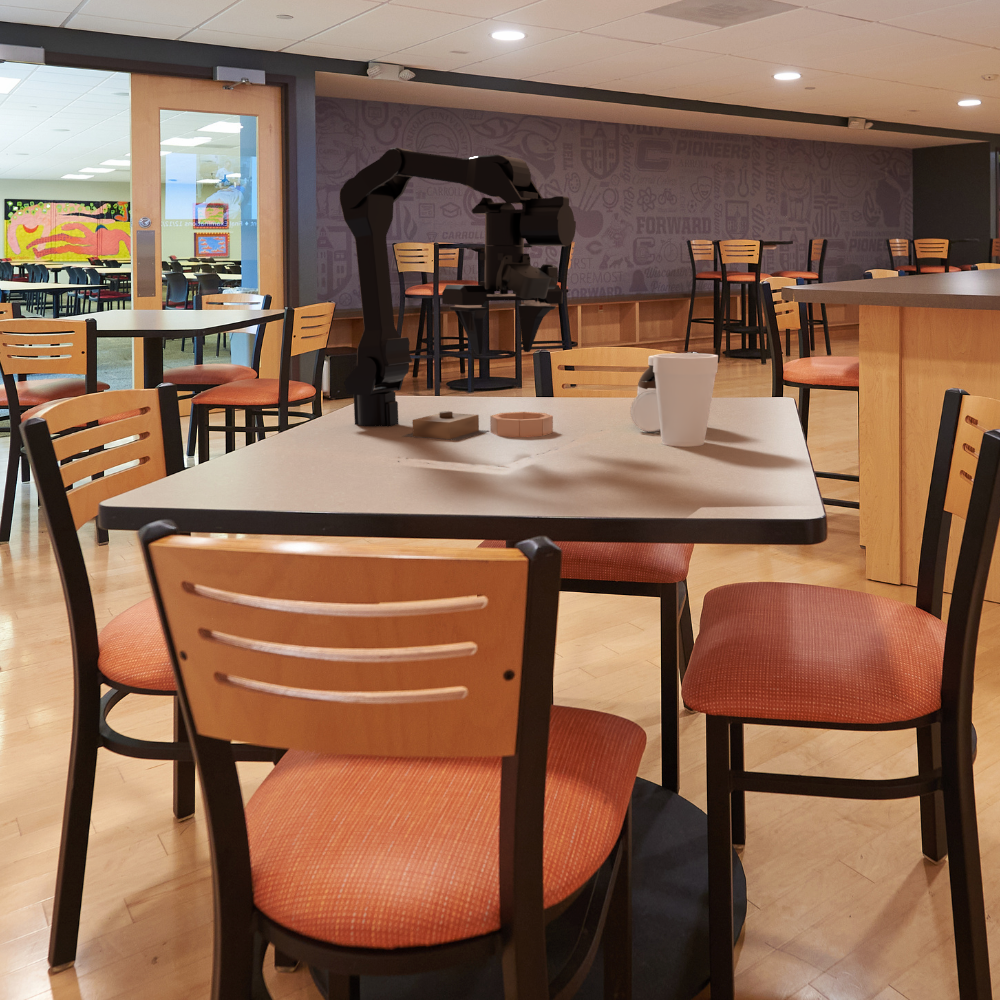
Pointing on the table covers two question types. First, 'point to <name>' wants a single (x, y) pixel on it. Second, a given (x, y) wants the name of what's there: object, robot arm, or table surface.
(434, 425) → the lid
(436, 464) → the table surface
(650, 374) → the spread jar
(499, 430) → the bowl
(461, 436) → the mat
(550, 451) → the table surface
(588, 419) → the table surface
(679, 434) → the foam cup
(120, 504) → the table surface
